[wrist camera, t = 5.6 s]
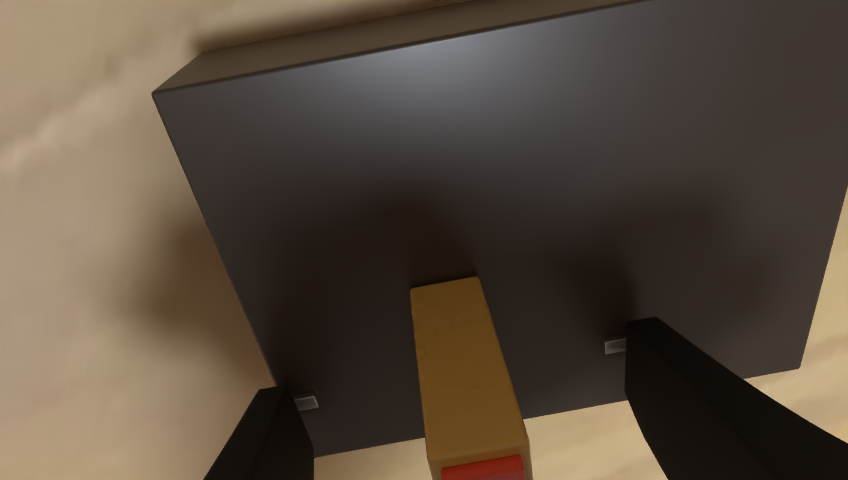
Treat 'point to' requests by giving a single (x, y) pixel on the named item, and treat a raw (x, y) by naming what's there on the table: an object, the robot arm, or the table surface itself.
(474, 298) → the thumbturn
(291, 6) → the table surface
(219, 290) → the table surface
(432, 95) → the plate
